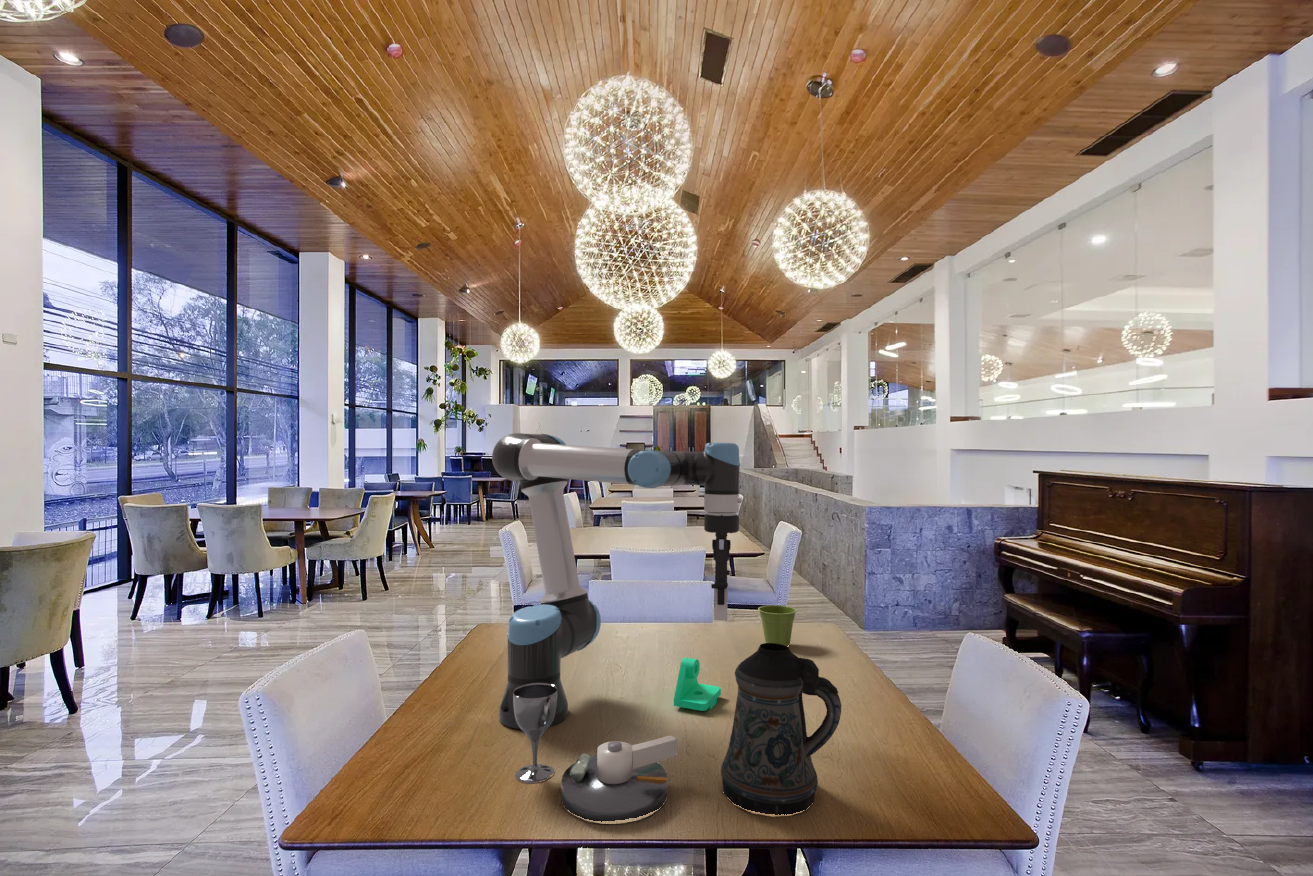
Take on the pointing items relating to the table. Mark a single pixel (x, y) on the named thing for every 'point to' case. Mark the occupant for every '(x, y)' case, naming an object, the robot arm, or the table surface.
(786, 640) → the plant pot
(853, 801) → the table surface
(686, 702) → the camera mount
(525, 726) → the wine glass
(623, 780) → the knob
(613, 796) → the base
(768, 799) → the beer stein
